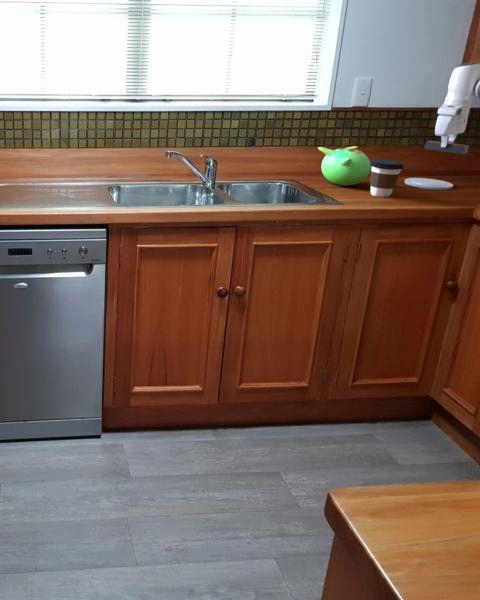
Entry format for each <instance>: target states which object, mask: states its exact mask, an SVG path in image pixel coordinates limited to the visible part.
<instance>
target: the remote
mask: <svg viewBox="0 0 480 600" xmlns="http://www.w3.org/2000/svg"><path fill="white" fill-rule="evenodd" d="M441 143H442V141H435V140H428V141H426V142H425V145H424V150H430V151H437V152H445V153H453V154H458V155H459V154H460V155H465V154H468V152H469V147H470V145H469V144H467V145H466V144H463V143H462V144H460V143H455V142H453V143H448V145H447V147H441Z"/></svg>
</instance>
